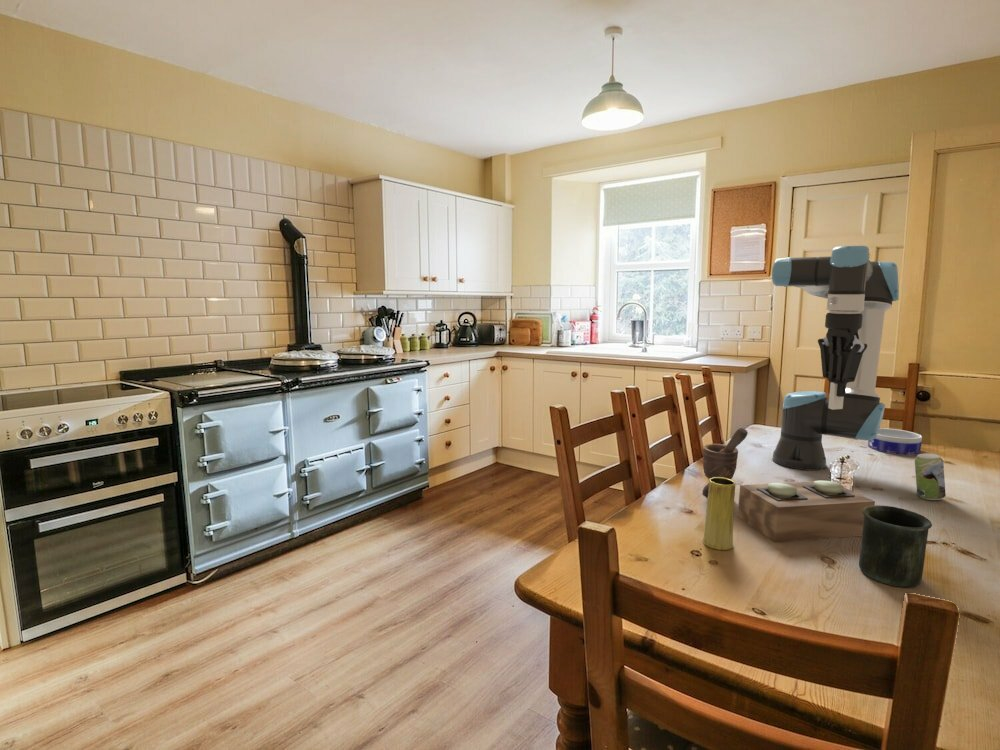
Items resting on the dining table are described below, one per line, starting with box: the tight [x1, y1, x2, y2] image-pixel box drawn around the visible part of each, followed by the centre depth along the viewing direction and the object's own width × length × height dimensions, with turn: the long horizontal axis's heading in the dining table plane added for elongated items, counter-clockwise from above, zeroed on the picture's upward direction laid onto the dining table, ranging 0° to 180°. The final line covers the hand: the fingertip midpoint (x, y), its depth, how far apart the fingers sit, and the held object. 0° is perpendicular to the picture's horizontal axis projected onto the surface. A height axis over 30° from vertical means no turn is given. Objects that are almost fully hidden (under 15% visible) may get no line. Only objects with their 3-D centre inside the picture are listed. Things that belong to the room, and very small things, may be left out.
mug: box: [858, 504, 933, 588], centre depth 107 cm, size 11×15×12 cm
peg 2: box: [814, 479, 845, 495], centre depth 129 cm, size 6×6×8 cm
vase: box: [702, 477, 736, 551], centre depth 118 cm, size 6×6×14 cm
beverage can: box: [914, 452, 947, 501], centre depth 146 cm, size 6×7×12 cm
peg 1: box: [767, 482, 797, 498], centre depth 127 cm, size 6×6×8 cm
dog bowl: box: [867, 427, 923, 456], centre depth 194 cm, size 15×15×6 cm
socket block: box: [737, 480, 876, 543], centre depth 128 cm, size 14×24×8 cm, turn 99°
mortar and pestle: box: [702, 427, 749, 497], centre depth 146 cm, size 12×9×20 cm
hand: (835, 408), depth 135 cm, fingers closed
